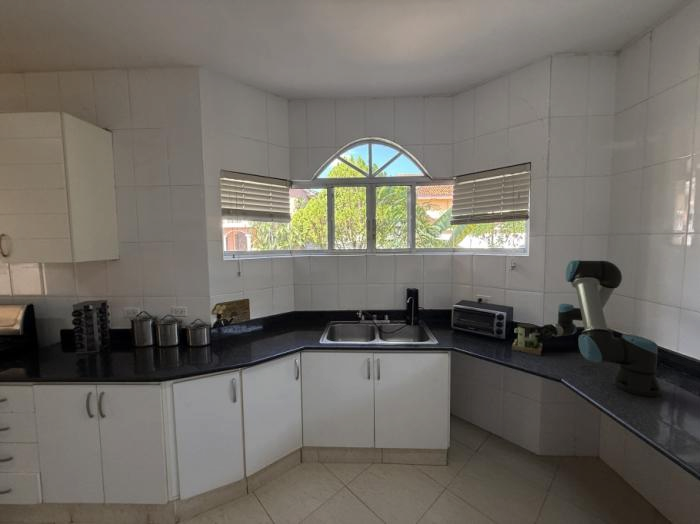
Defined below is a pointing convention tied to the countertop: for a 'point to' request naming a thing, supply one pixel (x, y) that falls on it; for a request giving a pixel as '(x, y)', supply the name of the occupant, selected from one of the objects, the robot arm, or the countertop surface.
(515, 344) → the oak bay tray
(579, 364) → the countertop surface
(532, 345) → the coffee can
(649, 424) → the countertop surface
